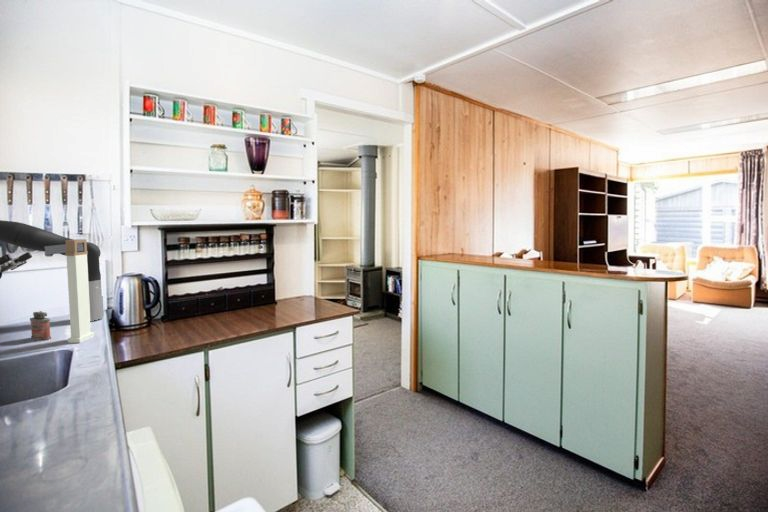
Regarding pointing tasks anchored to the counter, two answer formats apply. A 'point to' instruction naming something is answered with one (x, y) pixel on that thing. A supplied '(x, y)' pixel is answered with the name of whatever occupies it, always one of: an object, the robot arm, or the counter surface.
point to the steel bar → (60, 248)
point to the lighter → (40, 326)
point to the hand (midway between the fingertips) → (20, 255)
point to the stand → (78, 291)
